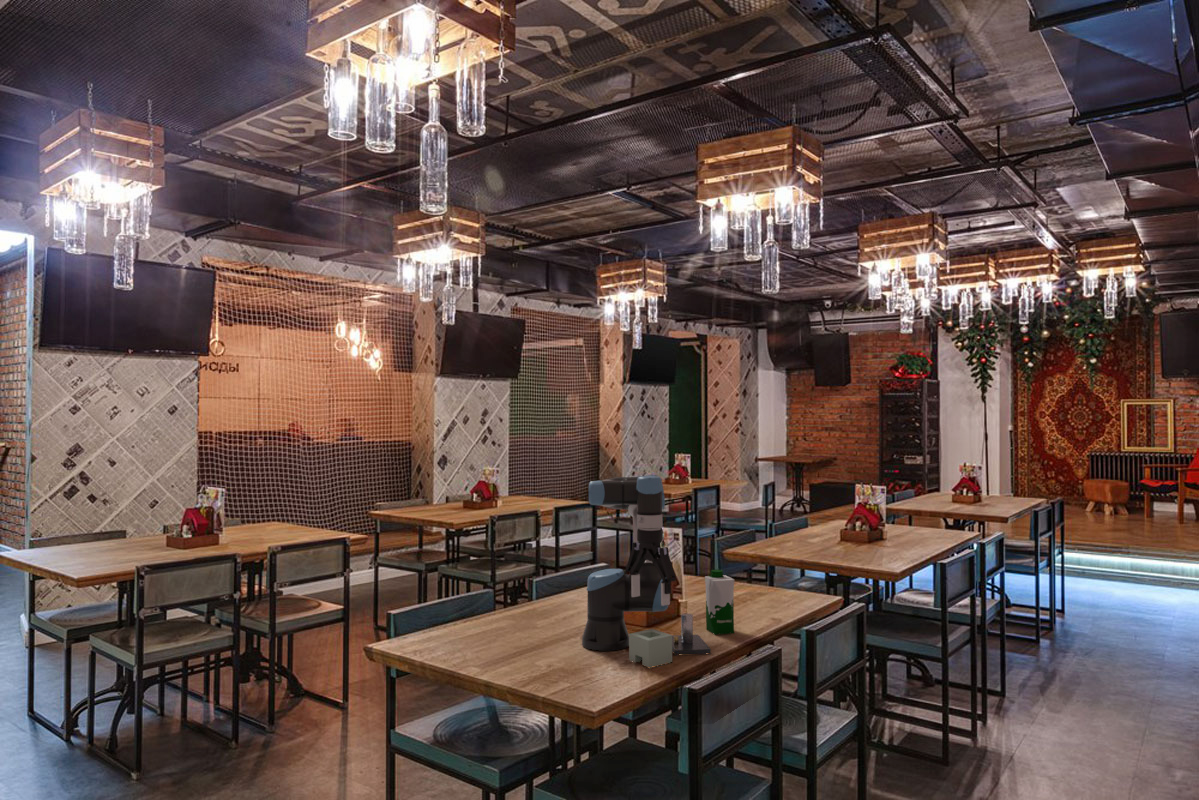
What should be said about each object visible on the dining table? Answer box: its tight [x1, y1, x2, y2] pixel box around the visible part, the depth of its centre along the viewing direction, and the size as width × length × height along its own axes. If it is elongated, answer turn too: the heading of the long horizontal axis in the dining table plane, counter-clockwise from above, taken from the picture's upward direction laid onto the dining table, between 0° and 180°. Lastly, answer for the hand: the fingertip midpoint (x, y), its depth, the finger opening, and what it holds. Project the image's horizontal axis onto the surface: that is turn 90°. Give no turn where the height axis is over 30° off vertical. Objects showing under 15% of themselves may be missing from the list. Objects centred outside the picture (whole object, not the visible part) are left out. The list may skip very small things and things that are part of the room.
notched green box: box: [628, 628, 673, 667], centre depth 231 cm, size 9×9×8 cm
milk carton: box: [704, 569, 736, 636], centre depth 263 cm, size 9×9×20 cm
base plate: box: [672, 613, 712, 656], centre depth 246 cm, size 11×16×10 cm
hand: (650, 600), depth 231 cm, fingers open, 13 cm apart
